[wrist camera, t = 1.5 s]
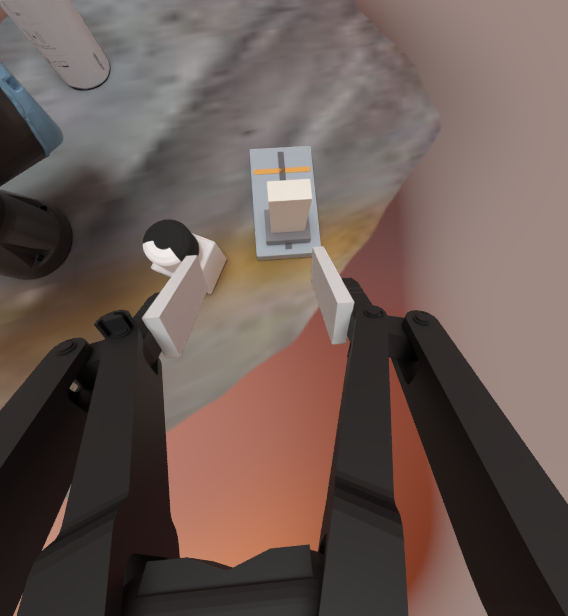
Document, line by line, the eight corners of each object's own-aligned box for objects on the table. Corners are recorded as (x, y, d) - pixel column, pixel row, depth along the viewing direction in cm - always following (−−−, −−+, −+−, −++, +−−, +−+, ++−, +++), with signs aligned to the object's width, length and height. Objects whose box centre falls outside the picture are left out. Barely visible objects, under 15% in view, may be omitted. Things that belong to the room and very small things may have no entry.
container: (191, 244, 41) (149, 203, 28) (227, 258, 41) (203, 224, 28) (174, 280, 40) (123, 255, 27) (211, 295, 40) (178, 277, 27)
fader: (266, 244, 39) (261, 212, 28) (264, 214, 39) (258, 171, 29) (309, 242, 39) (320, 208, 29) (306, 211, 40) (316, 168, 29)
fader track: (258, 260, 41) (256, 256, 39) (251, 157, 43) (249, 149, 41) (319, 256, 41) (321, 251, 39) (308, 154, 44) (310, 145, 42)
